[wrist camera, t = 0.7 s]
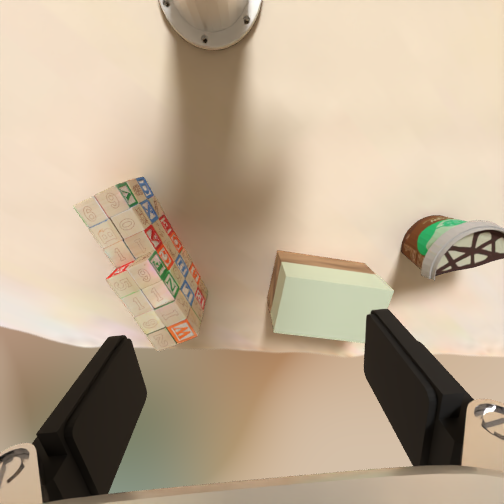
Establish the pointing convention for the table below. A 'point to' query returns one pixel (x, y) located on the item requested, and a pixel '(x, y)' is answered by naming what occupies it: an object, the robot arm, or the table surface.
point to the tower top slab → (326, 302)
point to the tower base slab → (311, 261)
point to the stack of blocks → (146, 262)
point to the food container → (452, 244)
